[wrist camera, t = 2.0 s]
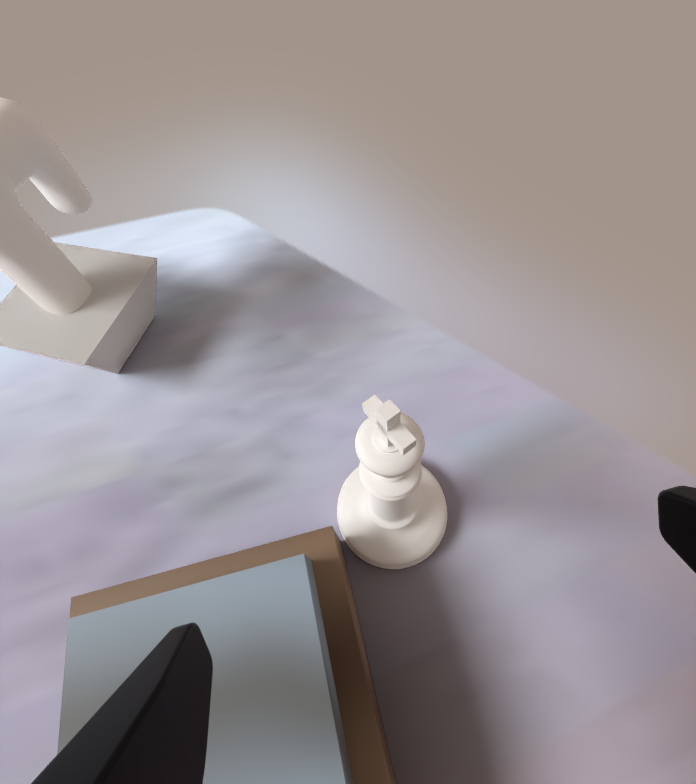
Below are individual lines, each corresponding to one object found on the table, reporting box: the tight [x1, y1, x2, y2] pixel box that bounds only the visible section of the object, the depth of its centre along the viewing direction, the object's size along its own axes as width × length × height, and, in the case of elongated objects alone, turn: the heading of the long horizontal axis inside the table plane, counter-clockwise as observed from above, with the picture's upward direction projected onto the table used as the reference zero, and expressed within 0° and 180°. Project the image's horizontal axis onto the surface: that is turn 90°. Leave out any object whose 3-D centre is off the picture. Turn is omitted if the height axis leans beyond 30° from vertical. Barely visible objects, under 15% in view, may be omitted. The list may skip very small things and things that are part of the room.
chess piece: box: [337, 395, 447, 569], centre depth 15 cm, size 5×5×10 cm
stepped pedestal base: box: [57, 526, 396, 784], centre depth 14 cm, size 10×10×4 cm
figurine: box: [0, 98, 157, 374], centre depth 19 cm, size 7×9×15 cm
